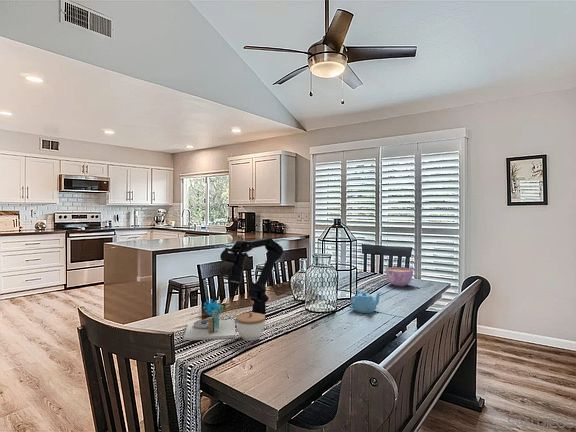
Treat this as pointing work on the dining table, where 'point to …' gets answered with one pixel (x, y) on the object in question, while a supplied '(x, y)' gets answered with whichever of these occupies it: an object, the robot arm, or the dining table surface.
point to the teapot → (364, 302)
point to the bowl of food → (399, 275)
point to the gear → (212, 306)
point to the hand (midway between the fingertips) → (231, 296)
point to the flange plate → (204, 323)
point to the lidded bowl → (250, 325)
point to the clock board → (204, 332)
